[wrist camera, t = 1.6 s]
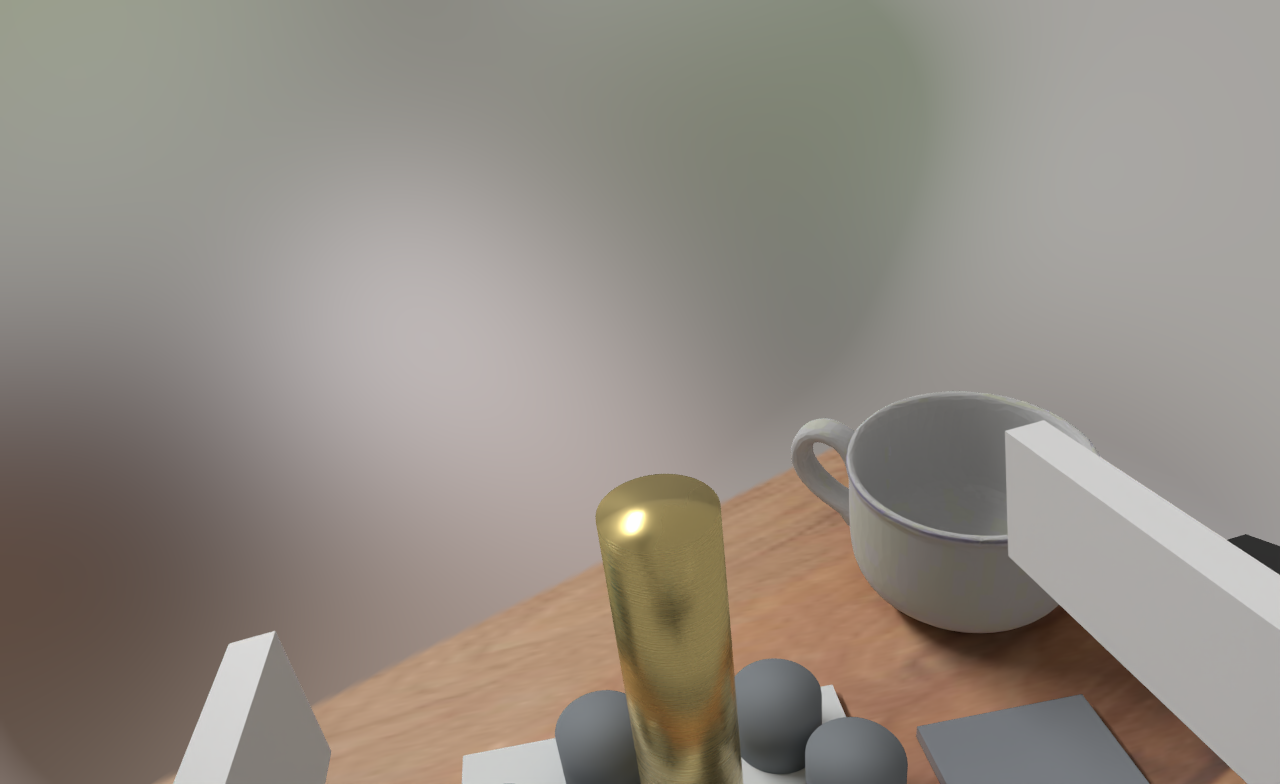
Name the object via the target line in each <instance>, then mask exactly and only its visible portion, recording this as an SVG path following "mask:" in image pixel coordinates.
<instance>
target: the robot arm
mask: <svg viewBox="0 0 1280 784" xmlns="http://www.w3.org/2000/svg"><path fill="white" fill-rule="evenodd" d="M1005 453H1006V490H1007V527H1008V556H1009V557H1010V558H1011V559H1012V560H1013V561H1014V562H1015V563H1016V564H1017V565H1018V566H1019V567H1020V568H1021V569H1022V570H1023V571H1025V572H1026V573H1027V574H1028V575H1029V576H1030V577H1031V578H1032V579H1033V580H1034V581H1035V582H1036V583H1037V584H1038V585H1039V586H1040V587H1041V588H1042V589H1043V590H1044V591H1046V592H1047V593H1048V594H1049V595H1050V596H1051V597H1052V598H1053V599H1054V600H1055V601H1056V602H1057V603H1058V604H1059V605H1060V606H1061V607H1062V608H1063V609H1064V610H1066V611H1067V612H1068V613H1069V614H1070V615H1071V616H1072V617H1073V618H1074V619H1075V620H1076V621H1077V622H1078V623H1079V624H1080V625H1081V626H1082V627H1083V628H1084V629H1085V630H1087V631H1088V632H1089V633H1090V634H1091V635H1092V636H1093V637H1094V638H1095V639H1096V640H1097V641H1098V642H1099V643H1100V644H1101V645H1102V646H1103V647H1104V648H1105V649H1106V650H1108V651H1109V652H1110V653H1111V654H1112V655H1113V656H1114V657H1115V658H1116V659H1117V660H1118V661H1119V662H1120V663H1121V664H1122V665H1123V666H1124V667H1125V668H1126V669H1127V670H1129V671H1130V672H1131V673H1132V674H1133V675H1134V676H1135V677H1136V678H1137V679H1138V680H1139V681H1140V682H1141V683H1142V684H1143V685H1144V686H1145V687H1146V688H1147V689H1149V690H1150V691H1151V692H1152V693H1153V694H1154V695H1155V696H1156V697H1157V698H1158V699H1159V700H1160V701H1161V702H1162V703H1163V704H1164V705H1165V706H1166V707H1167V708H1168V709H1170V710H1171V711H1172V712H1173V713H1174V714H1175V715H1176V716H1177V717H1178V718H1179V719H1180V720H1181V721H1182V722H1183V723H1184V724H1185V725H1186V726H1187V727H1188V728H1189V729H1191V730H1192V731H1193V732H1194V733H1195V734H1196V735H1197V736H1198V737H1199V738H1200V739H1201V740H1202V741H1203V742H1204V743H1205V744H1206V745H1207V746H1208V747H1209V748H1210V749H1212V750H1213V751H1214V752H1215V753H1216V754H1217V755H1218V756H1219V757H1220V758H1221V759H1222V760H1223V761H1224V762H1225V763H1226V764H1227V765H1228V766H1229V767H1230V768H1232V769H1233V770H1234V771H1235V772H1236V773H1237V774H1238V775H1239V776H1240V777H1241V778H1242V779H1243V780H1244V781H1245V782H1246V783H1247V784H1280V546H1277V545H1275V544H1272V543H1269V542H1266V541H1263V540H1261V539H1258V538H1255V537H1252V536H1249V535H1246V534H1245V535H1242V536H1239V537H1235V538H1232V539H1229V540H1226V539H1224V538H1223V537H1221V536H1220V535H1218V534H1217V533H1215V532H1214V531H1212V530H1210V529H1209V528H1207V527H1206V526H1204V525H1203V524H1201V523H1200V522H1198V521H1197V520H1195V519H1193V518H1192V517H1190V516H1189V515H1187V514H1186V513H1184V512H1183V511H1181V510H1180V509H1178V508H1177V507H1175V506H1174V505H1172V504H1171V503H1169V502H1168V501H1166V500H1165V499H1163V498H1162V497H1160V496H1159V495H1157V494H1155V493H1154V492H1153V491H1151V490H1150V489H1148V488H1147V487H1145V486H1143V485H1142V484H1140V483H1139V482H1137V481H1136V480H1134V479H1133V478H1131V477H1130V476H1128V475H1127V474H1125V473H1124V472H1122V471H1121V470H1119V469H1118V468H1116V467H1114V466H1113V465H1111V464H1110V463H1108V462H1107V461H1105V460H1104V459H1102V458H1101V457H1099V456H1098V455H1096V454H1095V453H1093V452H1092V451H1090V450H1089V449H1087V448H1086V447H1084V446H1083V445H1081V444H1080V443H1078V442H1076V441H1075V440H1073V439H1072V438H1070V437H1069V436H1067V435H1066V434H1064V433H1063V432H1061V431H1060V430H1058V429H1057V428H1055V427H1054V426H1052V425H1051V424H1049V423H1048V422H1046V421H1044V420H1043V421H1039V422H1036V423H1032V424H1028V425H1025V426H1021V427H1017V428H1014V429H1010V430H1006V431H1005ZM330 756H331V750H330V747H329V745H328V743H327V741H326V739H325V737H324V735H323V732H322V730H321V728H320V726H319V724H318V722H317V720H316V717H315V715H314V713H313V711H312V709H311V707H310V705H309V702H308V700H307V698H306V696H305V694H304V692H303V690H302V687H301V685H300V683H299V681H298V679H297V677H296V674H295V672H294V670H293V668H292V666H291V664H290V662H289V659H288V658H287V655H286V653H285V651H284V649H283V646H282V644H281V642H280V640H279V638H278V636H277V634H276V631H274V632H270V633H266V634H263V635H259V636H255V637H252V638H248V639H245V640H241V641H237V642H234V643H230V644H229V645H228V647H227V650H226V653H225V655H224V658H223V660H222V663H221V665H220V668H219V670H218V673H217V675H216V678H215V680H214V683H213V685H212V688H211V690H210V693H209V695H208V698H207V700H206V703H205V705H204V708H203V710H202V713H201V715H200V718H199V720H198V723H197V726H196V728H195V730H194V733H193V736H192V738H191V740H190V743H189V746H188V748H187V750H186V753H185V756H184V758H183V760H182V763H181V765H180V768H179V771H178V773H177V776H176V778H175V781H174V783H173V784H325V781H326V776H327V771H328V766H329V761H330Z"/></svg>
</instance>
